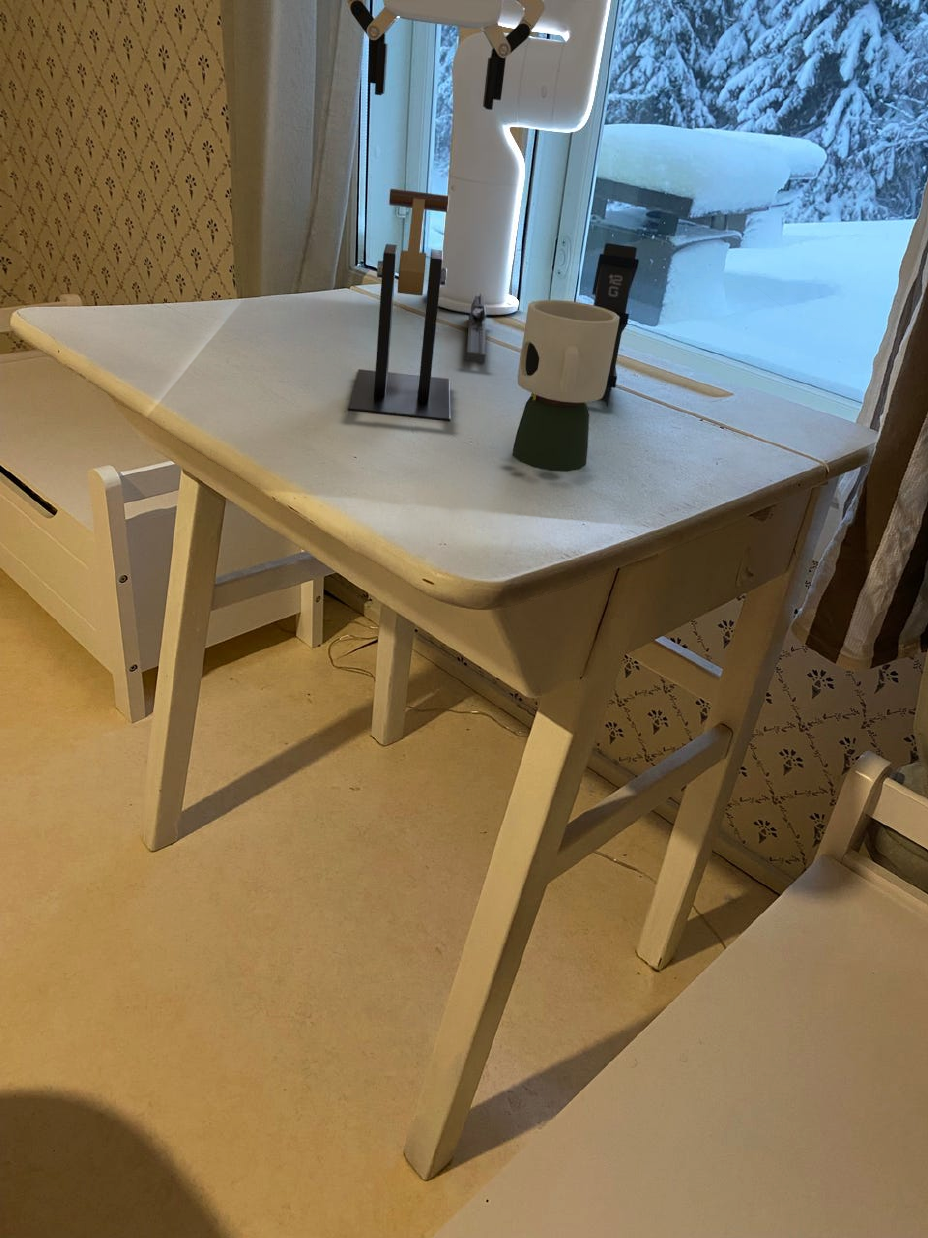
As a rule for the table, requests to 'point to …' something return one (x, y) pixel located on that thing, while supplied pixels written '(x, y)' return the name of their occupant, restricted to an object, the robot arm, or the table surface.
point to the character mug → (562, 380)
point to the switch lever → (415, 236)
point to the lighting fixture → (476, 332)
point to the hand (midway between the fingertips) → (433, 101)
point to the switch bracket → (381, 386)
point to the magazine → (615, 293)
